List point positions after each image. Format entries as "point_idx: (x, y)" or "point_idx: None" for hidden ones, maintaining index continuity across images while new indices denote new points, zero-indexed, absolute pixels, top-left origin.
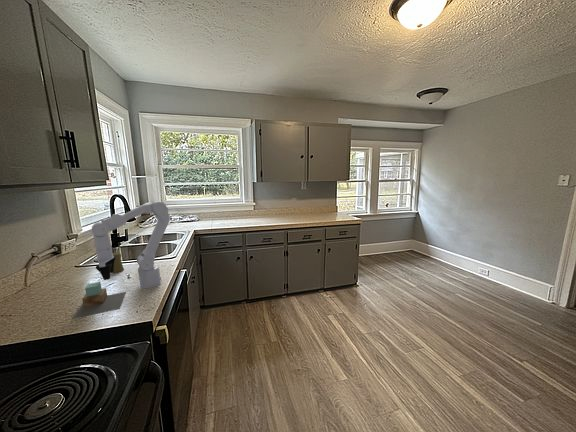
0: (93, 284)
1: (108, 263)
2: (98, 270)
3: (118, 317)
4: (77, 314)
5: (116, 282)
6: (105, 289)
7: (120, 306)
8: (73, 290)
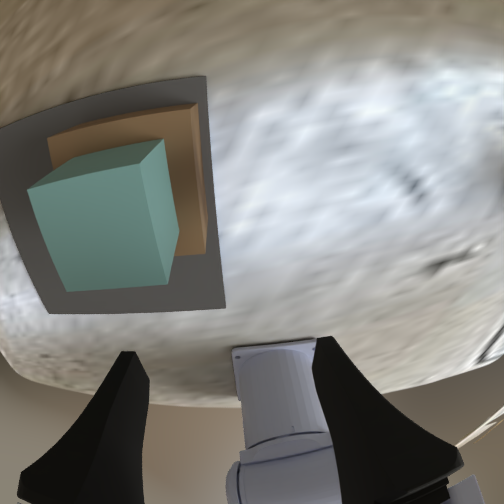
0: (104, 239)
1: (353, 459)
2: (42, 459)
3: (9, 313)
4: (13, 136)
5: (419, 214)
6: (185, 252)
7: (65, 313)
8: None
